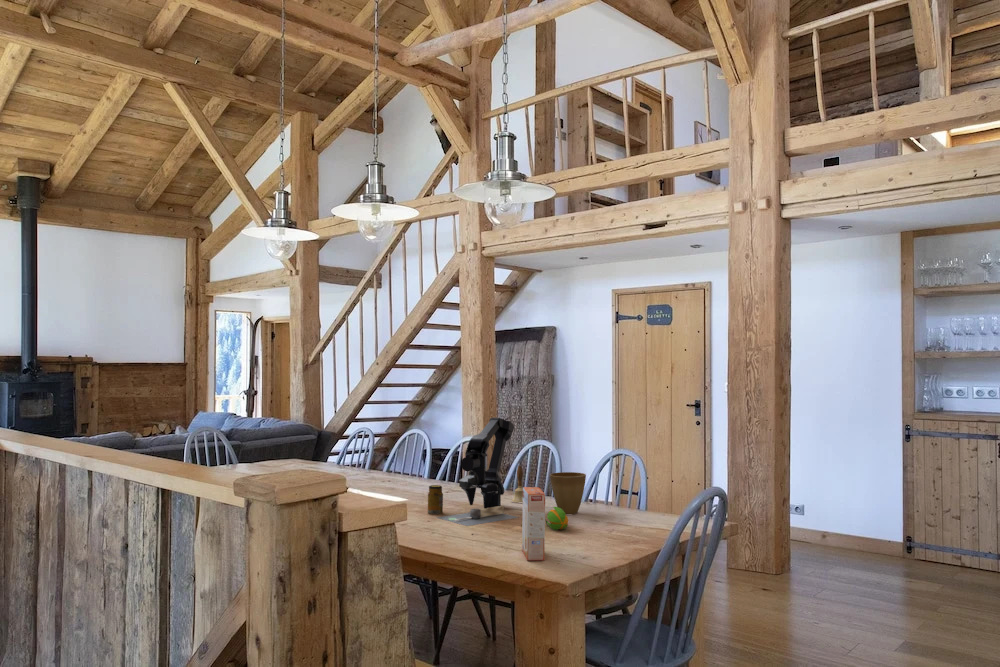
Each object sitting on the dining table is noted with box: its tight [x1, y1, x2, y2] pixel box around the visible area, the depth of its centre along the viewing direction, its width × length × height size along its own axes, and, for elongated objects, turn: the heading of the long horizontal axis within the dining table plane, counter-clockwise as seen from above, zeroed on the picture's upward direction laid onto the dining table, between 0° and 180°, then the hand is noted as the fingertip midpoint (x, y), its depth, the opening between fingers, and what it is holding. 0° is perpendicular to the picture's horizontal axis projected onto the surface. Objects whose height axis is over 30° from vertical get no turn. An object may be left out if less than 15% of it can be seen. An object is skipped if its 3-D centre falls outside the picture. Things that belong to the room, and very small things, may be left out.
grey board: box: [436, 512, 520, 527], centre depth 298 cm, size 26×20×1 cm
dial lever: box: [454, 505, 505, 521], centre depth 297 cm, size 24×4×3 cm, turn 130°
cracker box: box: [521, 486, 546, 562], centre depth 243 cm, size 14×6×21 cm, turn 5°
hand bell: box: [510, 465, 524, 502], centre depth 339 cm, size 8×8×16 cm
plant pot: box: [549, 471, 587, 515], centre depth 313 cm, size 15×15×16 cm
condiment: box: [427, 484, 444, 516], centre depth 306 cm, size 7×8×12 cm
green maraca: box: [545, 506, 569, 531], centre depth 286 cm, size 7×8×20 cm
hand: (478, 506), depth 310 cm, fingers open, 9 cm apart
